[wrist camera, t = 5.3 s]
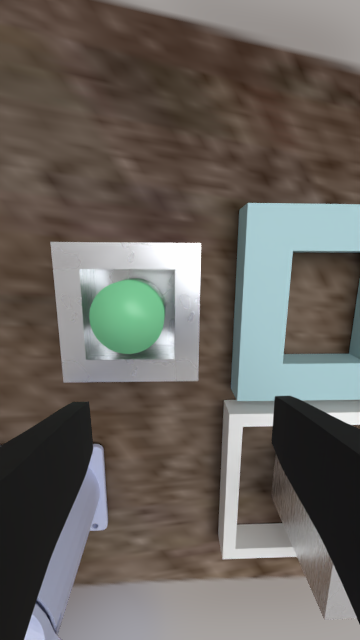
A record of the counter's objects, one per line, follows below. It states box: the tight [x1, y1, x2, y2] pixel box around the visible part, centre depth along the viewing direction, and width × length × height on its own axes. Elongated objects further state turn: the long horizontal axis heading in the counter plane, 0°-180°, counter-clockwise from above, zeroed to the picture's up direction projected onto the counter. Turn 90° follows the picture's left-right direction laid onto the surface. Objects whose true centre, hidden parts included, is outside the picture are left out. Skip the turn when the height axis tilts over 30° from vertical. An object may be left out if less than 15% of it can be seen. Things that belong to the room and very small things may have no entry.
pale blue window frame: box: [231, 203, 360, 401], centre depth 18 cm, size 12×13×2 cm
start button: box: [89, 278, 165, 354], centre depth 16 cm, size 4×4×4 cm
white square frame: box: [218, 400, 360, 559], centre depth 21 cm, size 13×13×2 cm
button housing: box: [51, 242, 201, 382], centre depth 17 cm, size 8×8×4 cm
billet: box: [271, 452, 357, 620], centre depth 18 cm, size 4×6×8 cm
